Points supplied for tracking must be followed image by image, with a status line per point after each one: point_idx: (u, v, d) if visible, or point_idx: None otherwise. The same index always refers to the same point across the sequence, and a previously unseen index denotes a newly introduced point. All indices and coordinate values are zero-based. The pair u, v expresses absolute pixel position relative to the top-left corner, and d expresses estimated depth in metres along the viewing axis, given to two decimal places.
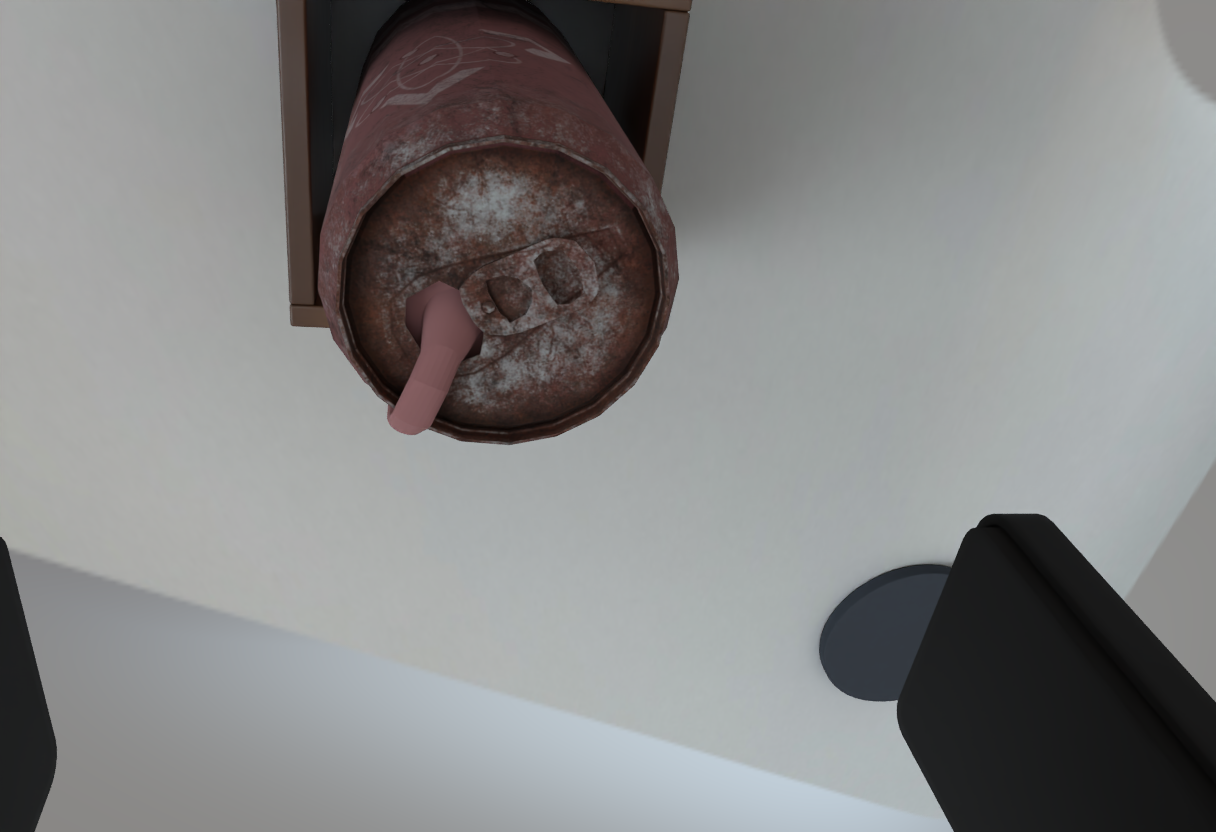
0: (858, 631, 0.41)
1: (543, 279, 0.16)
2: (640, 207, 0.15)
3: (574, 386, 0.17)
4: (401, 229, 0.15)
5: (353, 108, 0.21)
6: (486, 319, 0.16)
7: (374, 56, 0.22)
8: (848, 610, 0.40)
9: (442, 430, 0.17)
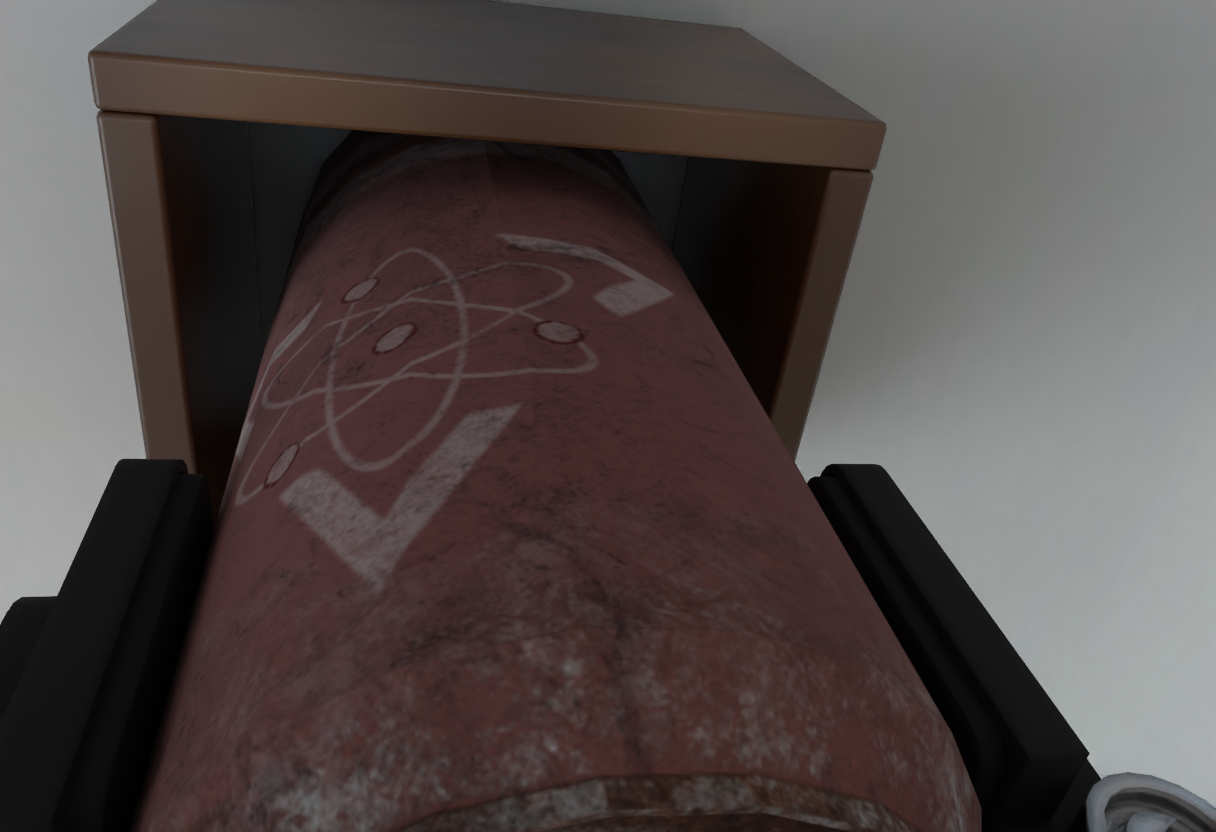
0: None
1: None
2: None
3: None
4: None
5: (267, 346, 0.12)
6: None
7: (309, 236, 0.13)
8: None
9: None
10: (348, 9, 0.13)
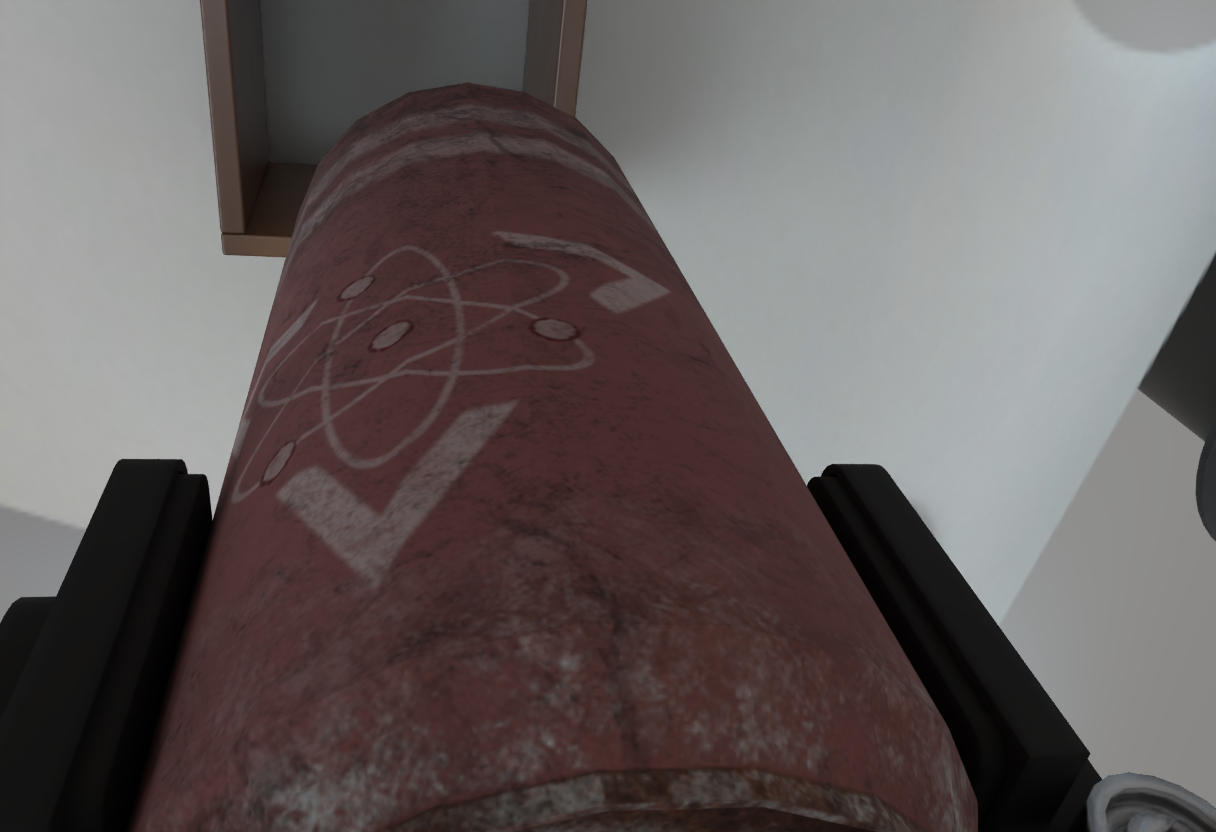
0: None
1: None
2: None
3: None
4: None
5: (263, 345, 0.12)
6: None
7: (305, 235, 0.13)
8: None
9: None
10: None
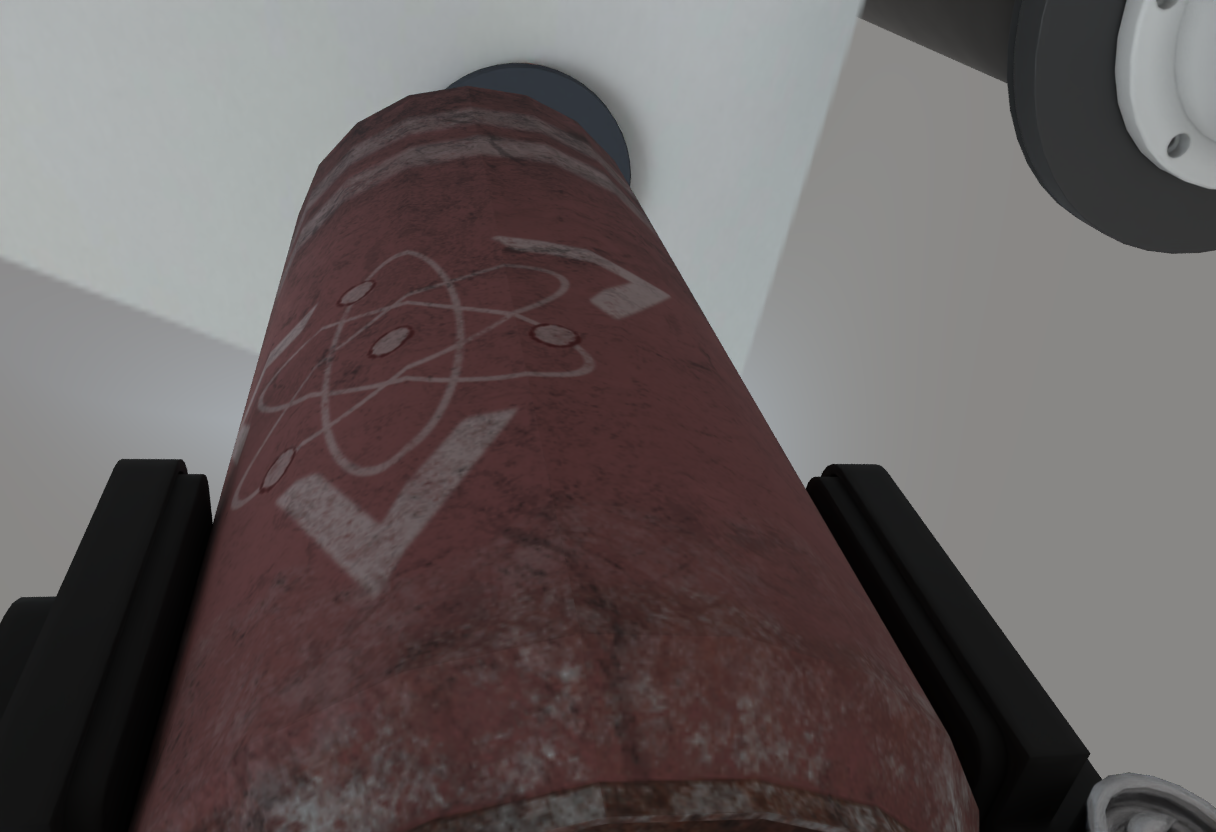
0: None
1: None
2: None
3: None
4: None
5: (262, 349, 0.12)
6: None
7: (304, 239, 0.13)
8: None
9: None
10: None
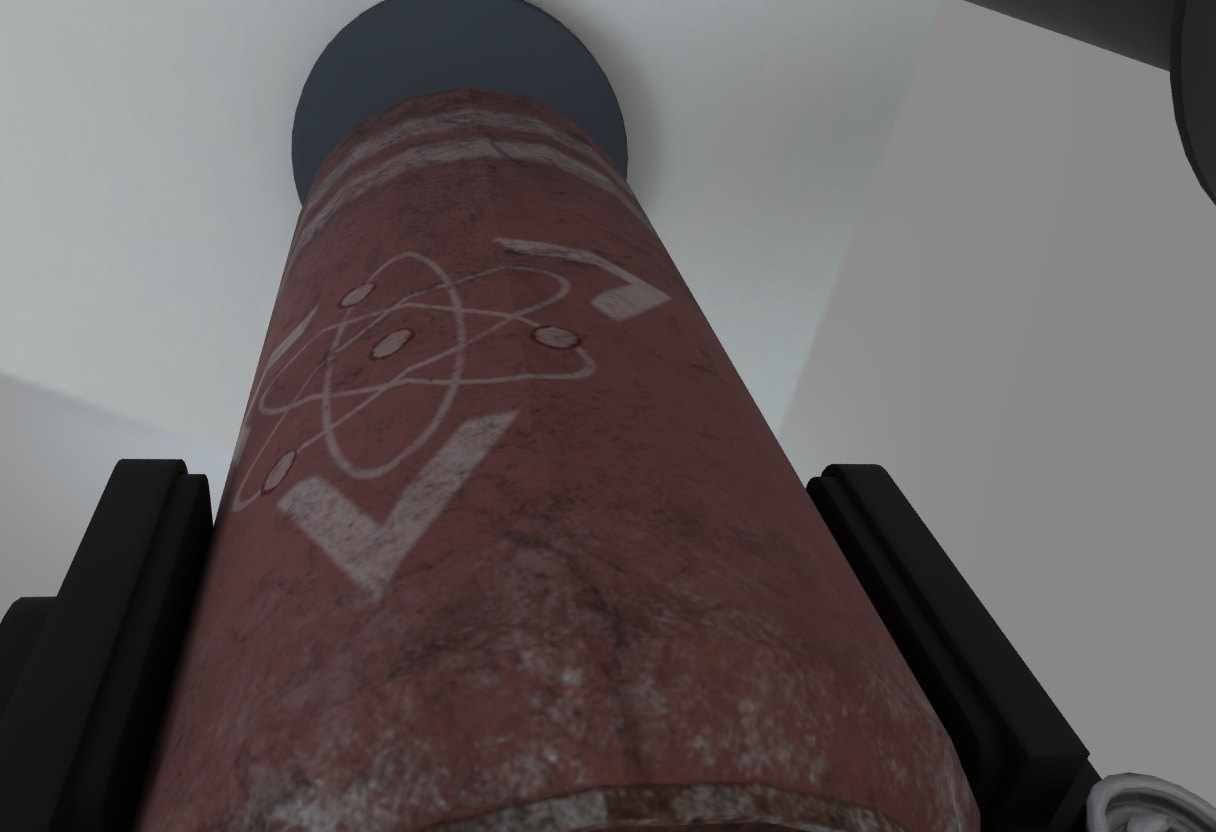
0: None
1: None
2: None
3: None
4: None
5: (263, 351, 0.12)
6: None
7: (305, 240, 0.13)
8: (314, 75, 0.20)
9: None
10: None
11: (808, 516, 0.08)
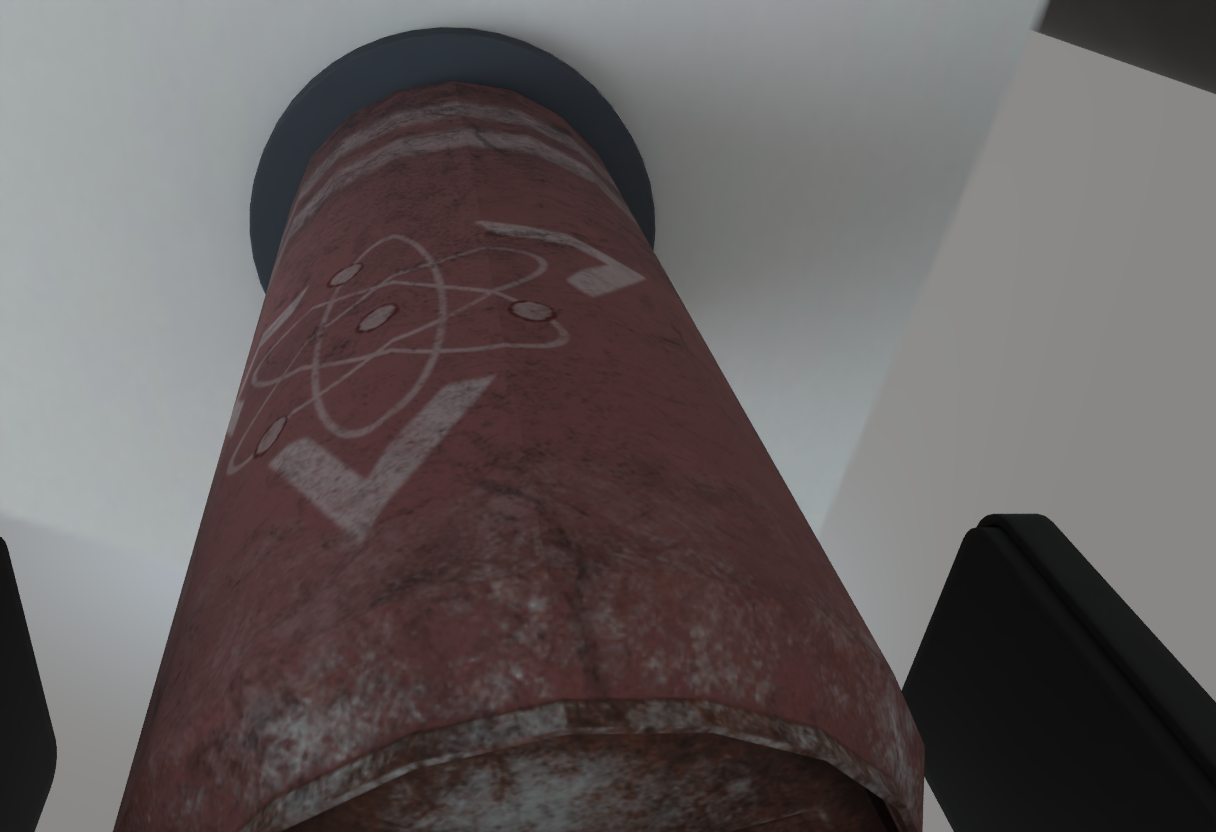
0: None
1: None
2: (893, 804, 0.06)
3: None
4: None
5: (256, 332, 0.12)
6: None
7: (296, 227, 0.13)
8: (276, 137, 0.17)
9: None
10: None
11: (769, 477, 0.08)
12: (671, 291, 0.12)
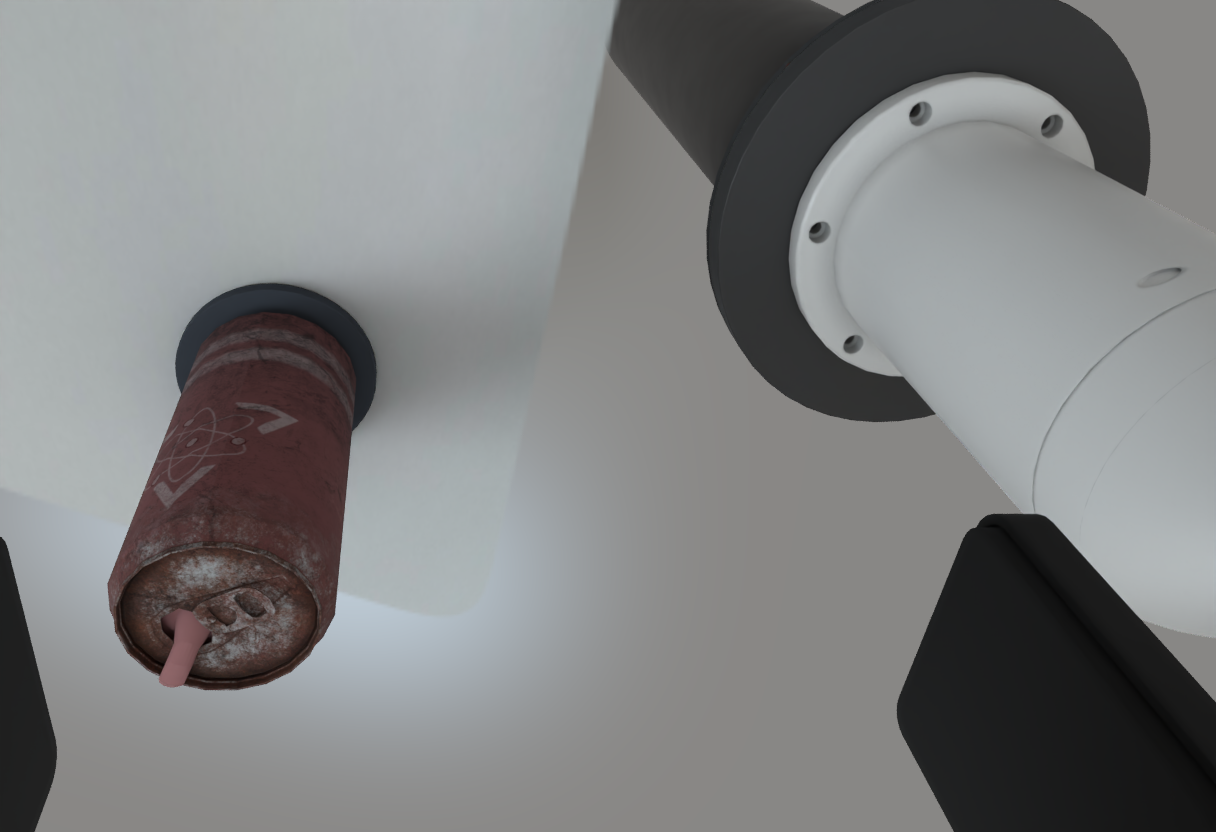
0: None
1: (243, 603, 0.27)
2: (291, 570, 0.26)
3: (275, 655, 0.28)
4: (151, 586, 0.26)
5: None
6: (212, 624, 0.27)
7: (184, 389, 0.33)
8: (186, 333, 0.36)
9: (192, 685, 0.28)
10: None
11: (302, 492, 0.28)
12: (318, 421, 0.32)
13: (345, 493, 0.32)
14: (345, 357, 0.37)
